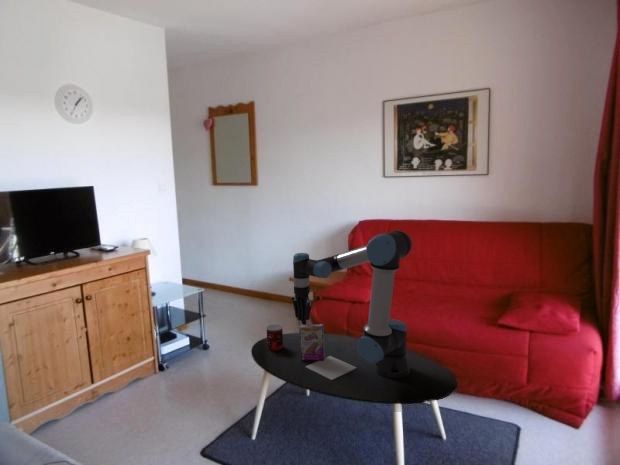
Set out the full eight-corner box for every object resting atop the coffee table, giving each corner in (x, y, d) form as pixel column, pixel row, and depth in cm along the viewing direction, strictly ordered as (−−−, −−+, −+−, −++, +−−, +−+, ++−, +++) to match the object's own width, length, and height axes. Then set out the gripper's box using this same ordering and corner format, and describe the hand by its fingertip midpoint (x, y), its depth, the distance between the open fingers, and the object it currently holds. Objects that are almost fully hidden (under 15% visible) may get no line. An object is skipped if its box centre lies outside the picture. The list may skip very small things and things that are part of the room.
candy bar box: (300, 361, 206) (298, 327, 204) (302, 356, 211) (300, 324, 209) (324, 361, 205) (322, 327, 203) (325, 356, 210) (323, 323, 208)
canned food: (267, 345, 225) (266, 324, 223) (282, 344, 226) (282, 324, 224) (267, 351, 217) (266, 330, 216) (283, 350, 218) (282, 329, 217)
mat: (356, 368, 198) (356, 367, 198) (331, 380, 188) (331, 379, 188) (330, 356, 211) (330, 355, 211) (305, 367, 200) (305, 366, 200)
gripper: (316, 286, 206) (317, 334, 209) (298, 281, 215) (299, 327, 219) (304, 289, 201) (305, 338, 204) (286, 284, 210) (288, 331, 214)
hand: (302, 332), depth 212 cm, fingers closed
